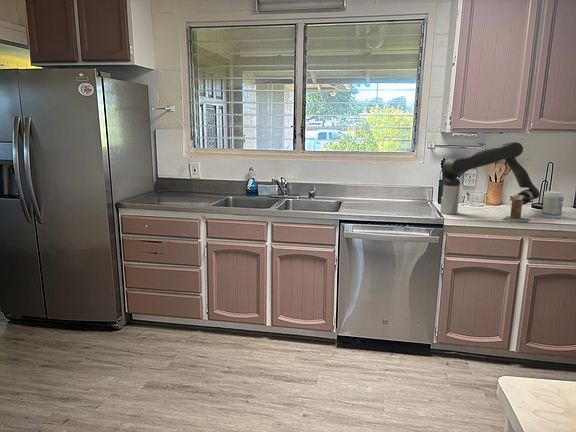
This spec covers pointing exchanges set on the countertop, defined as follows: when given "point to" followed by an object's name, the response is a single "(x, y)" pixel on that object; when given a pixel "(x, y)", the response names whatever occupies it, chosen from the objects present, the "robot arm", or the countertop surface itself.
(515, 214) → the walnut post
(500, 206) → the countertop surface
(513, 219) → the rubber mat
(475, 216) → the countertop surface
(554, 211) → the supplement tub
